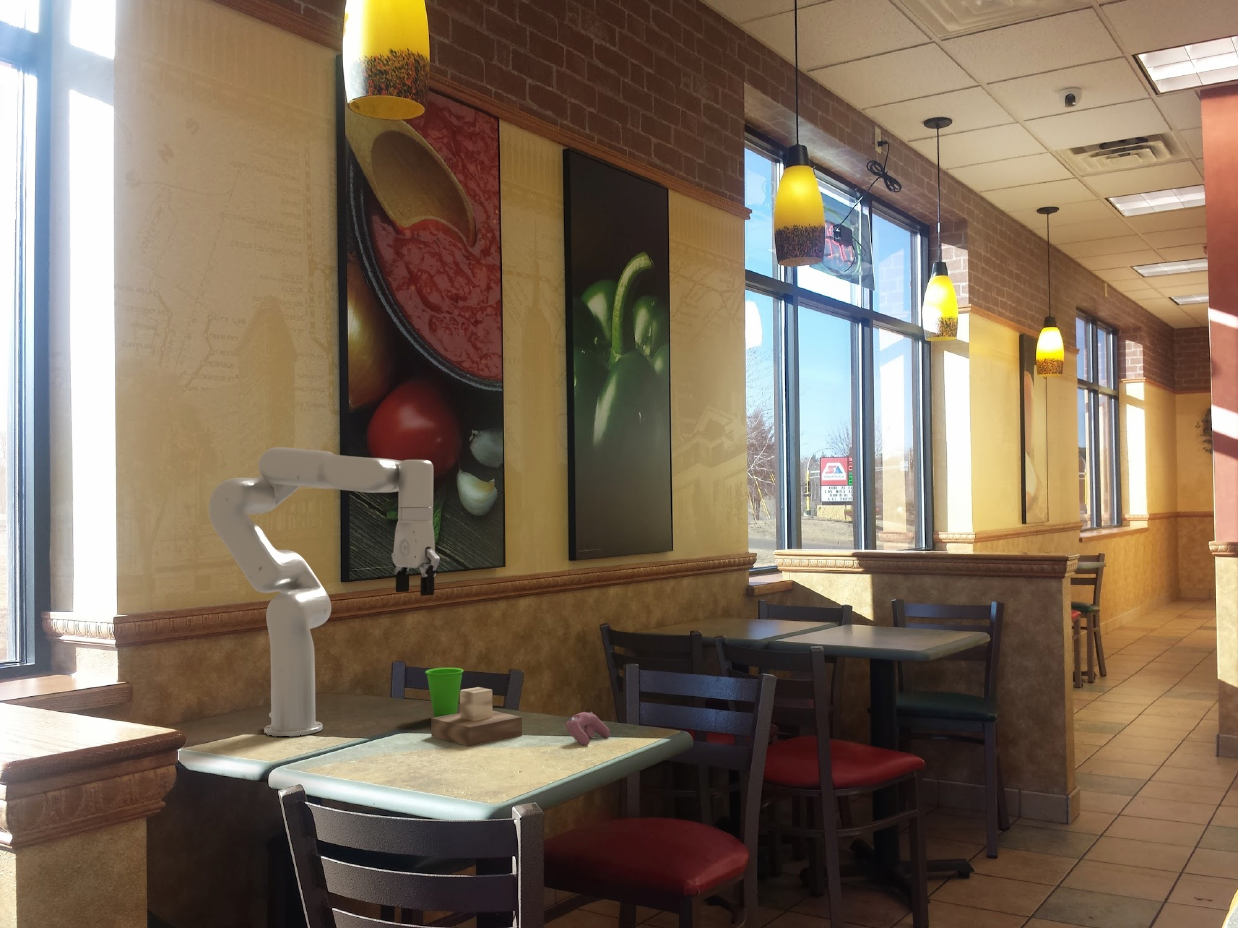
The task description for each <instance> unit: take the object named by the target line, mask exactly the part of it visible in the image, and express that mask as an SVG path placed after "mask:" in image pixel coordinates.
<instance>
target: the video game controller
mask: <svg viewBox="0 0 1238 928" xmlns="http://www.w3.org/2000/svg"><path fill="white" fill-rule="evenodd" d="M565 727H566V730H567V733H568V734H569V735H570V736H571V737H573V739H574V740H575V741H576V742H577V743H579V744H580V745H581V746H588V745H589V744H590V739H592V738H594V736H595V733H596V734H598V735H599V736H601V737H603V738H609V737H610V729H609V727H608V726H607V725H605V724H604V722H603V721H602V720H601V719H599V717H598V716H597V715H596V714H595V713H593V711H590V712H585V711H584V712H583V711H581V712H579V713H577V714H574V715H573V716H572V717H571V718H569V720H567V721H566V724H565ZM582 728H583V729H582Z"/></svg>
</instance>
